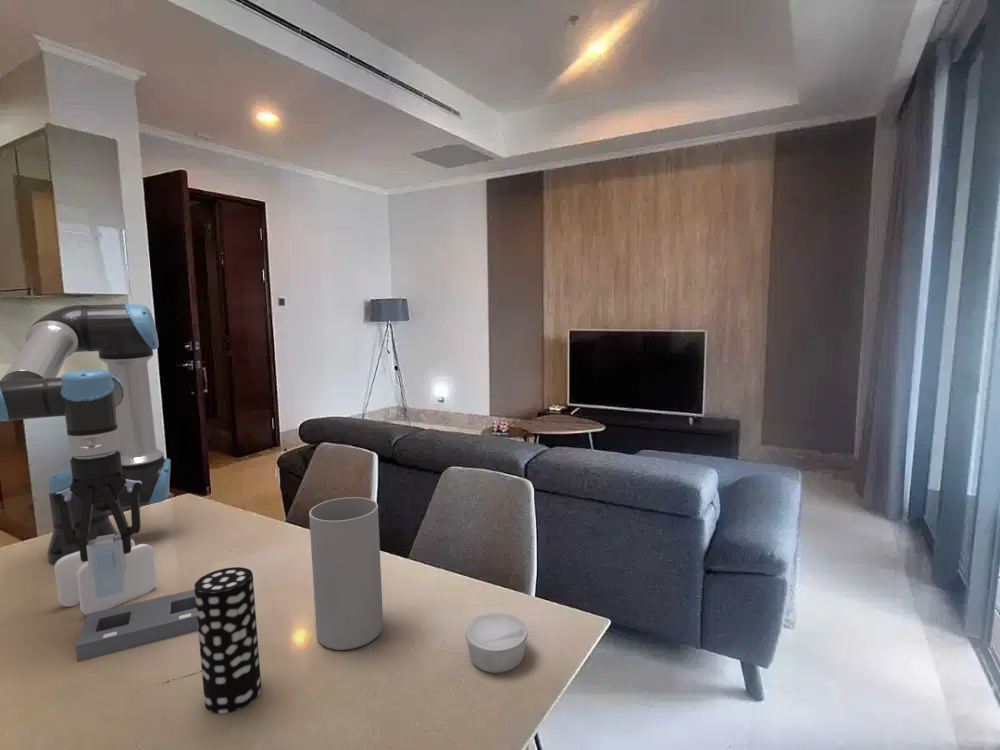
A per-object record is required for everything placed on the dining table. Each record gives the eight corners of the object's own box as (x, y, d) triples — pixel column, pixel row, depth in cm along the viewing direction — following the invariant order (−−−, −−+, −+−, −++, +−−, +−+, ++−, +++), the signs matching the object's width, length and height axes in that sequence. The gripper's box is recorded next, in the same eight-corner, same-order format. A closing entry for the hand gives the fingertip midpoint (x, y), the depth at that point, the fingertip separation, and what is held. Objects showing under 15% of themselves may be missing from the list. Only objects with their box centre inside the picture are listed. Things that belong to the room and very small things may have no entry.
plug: (99, 588, 106) (93, 536, 104) (124, 583, 108) (119, 531, 106) (95, 600, 102) (89, 546, 100) (121, 594, 104) (115, 541, 102)
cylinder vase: (395, 620, 111) (390, 500, 108) (360, 657, 99) (353, 524, 96) (342, 610, 115) (336, 494, 112) (302, 644, 103) (294, 517, 100)
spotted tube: (218, 679, 94) (208, 568, 91) (268, 676, 94) (260, 565, 92) (195, 715, 85) (184, 594, 83) (250, 711, 86) (241, 591, 84)
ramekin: (507, 686, 91) (506, 657, 90) (453, 664, 97) (452, 636, 96) (538, 650, 100) (538, 623, 100) (487, 632, 106) (487, 606, 106)
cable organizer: (80, 624, 111) (73, 570, 110) (58, 610, 117) (51, 558, 115) (158, 591, 124) (153, 542, 122) (135, 579, 129) (130, 532, 128)
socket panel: (89, 630, 109) (87, 613, 108) (213, 600, 119) (212, 584, 119) (77, 664, 98) (75, 645, 98) (215, 628, 109) (214, 610, 108)
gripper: (31, 465, 94) (47, 593, 97) (148, 452, 102) (160, 570, 105) (41, 455, 101) (56, 575, 104) (151, 442, 109) (162, 554, 112)
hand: (108, 572), depth 105 cm, fingers closed on plug, 4 cm apart
